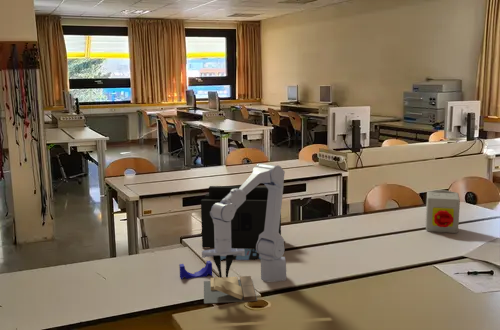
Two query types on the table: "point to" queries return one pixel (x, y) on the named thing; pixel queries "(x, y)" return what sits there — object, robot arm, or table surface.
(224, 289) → the oak plank near
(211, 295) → the underlay mat
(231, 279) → the oak plank far
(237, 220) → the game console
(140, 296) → the table surface
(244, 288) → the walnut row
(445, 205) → the electrical switch box
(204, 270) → the blue cradle bracket
